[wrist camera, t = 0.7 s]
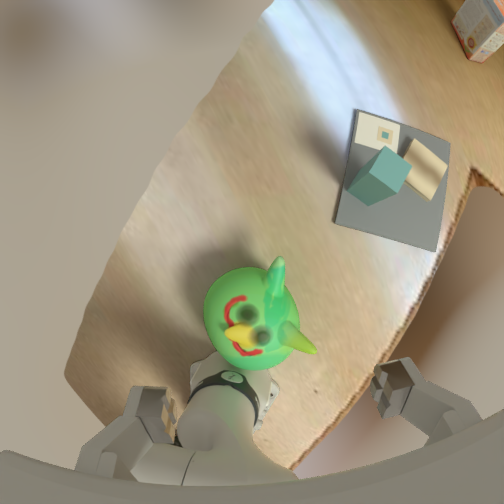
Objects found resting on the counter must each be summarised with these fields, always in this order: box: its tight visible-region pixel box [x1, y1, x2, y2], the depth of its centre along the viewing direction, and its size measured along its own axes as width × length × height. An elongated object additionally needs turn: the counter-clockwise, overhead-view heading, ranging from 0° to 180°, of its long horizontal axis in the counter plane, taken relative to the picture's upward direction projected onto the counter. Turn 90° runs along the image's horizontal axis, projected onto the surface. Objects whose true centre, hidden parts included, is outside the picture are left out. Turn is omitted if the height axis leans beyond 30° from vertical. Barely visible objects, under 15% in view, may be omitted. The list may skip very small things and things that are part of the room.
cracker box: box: [451, 0, 504, 63], centre depth 40 cm, size 14×6×21 cm, turn 4°
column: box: [347, 146, 412, 206], centre depth 47 cm, size 5×5×16 cm
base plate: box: [334, 109, 450, 252], centre depth 53 cm, size 24×22×3 cm
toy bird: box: [203, 256, 317, 371], centre depth 51 cm, size 18×17×15 cm
